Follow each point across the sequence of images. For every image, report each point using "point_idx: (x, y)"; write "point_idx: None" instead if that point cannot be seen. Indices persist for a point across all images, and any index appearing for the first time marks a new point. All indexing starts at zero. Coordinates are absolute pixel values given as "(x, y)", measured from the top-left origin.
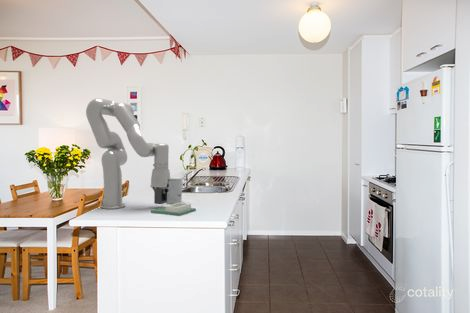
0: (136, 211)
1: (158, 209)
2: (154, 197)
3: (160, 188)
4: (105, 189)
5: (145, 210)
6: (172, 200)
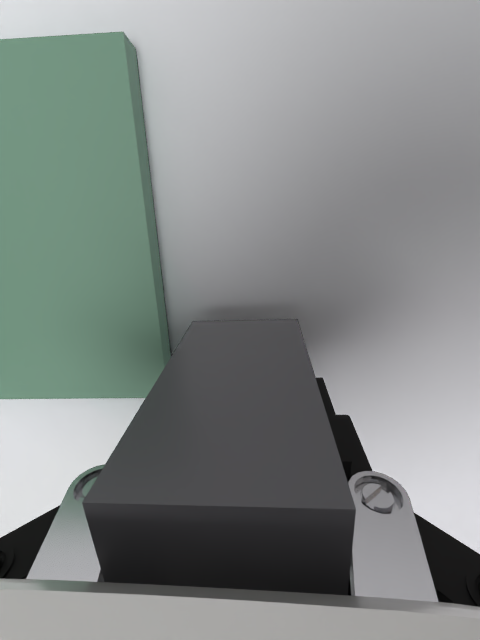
0: (386, 7)
1: (81, 149)
2: (307, 356)
3: None
4: None
5: (310, 143)
6: None
